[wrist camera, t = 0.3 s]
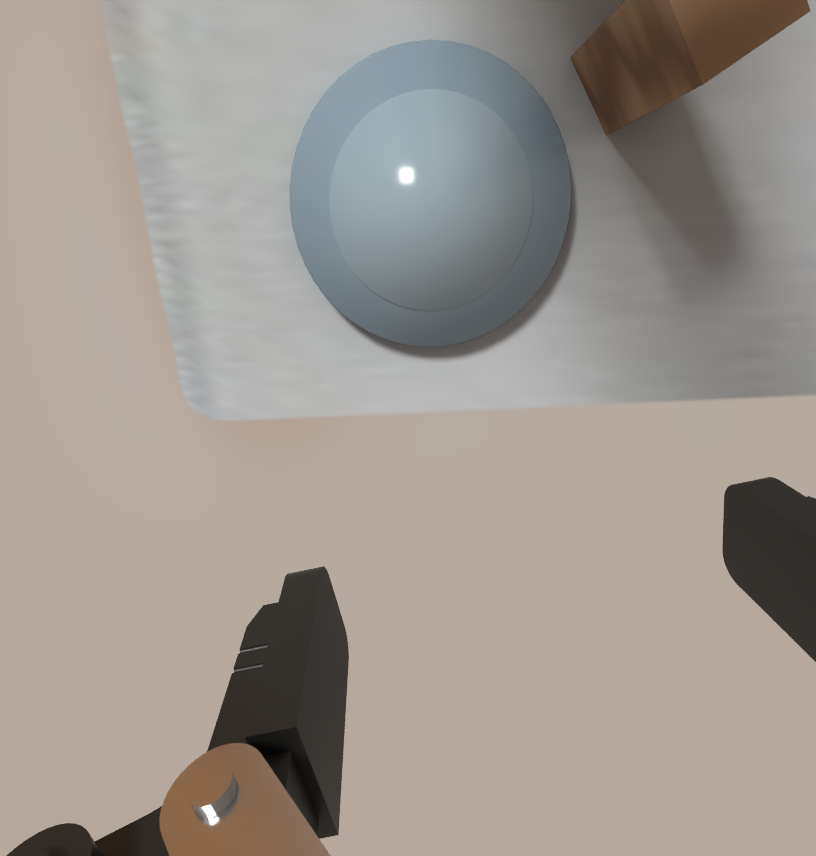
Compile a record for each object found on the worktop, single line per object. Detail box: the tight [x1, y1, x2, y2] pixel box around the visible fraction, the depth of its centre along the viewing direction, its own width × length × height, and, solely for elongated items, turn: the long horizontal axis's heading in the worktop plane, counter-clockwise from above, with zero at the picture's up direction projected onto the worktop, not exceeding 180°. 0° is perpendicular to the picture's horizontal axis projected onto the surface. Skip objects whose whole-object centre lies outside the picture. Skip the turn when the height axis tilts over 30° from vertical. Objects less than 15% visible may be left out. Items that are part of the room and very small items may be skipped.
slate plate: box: [290, 40, 571, 347], centre depth 34 cm, size 18×18×1 cm
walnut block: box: [571, 0, 810, 135], centre depth 27 cm, size 5×5×11 cm
